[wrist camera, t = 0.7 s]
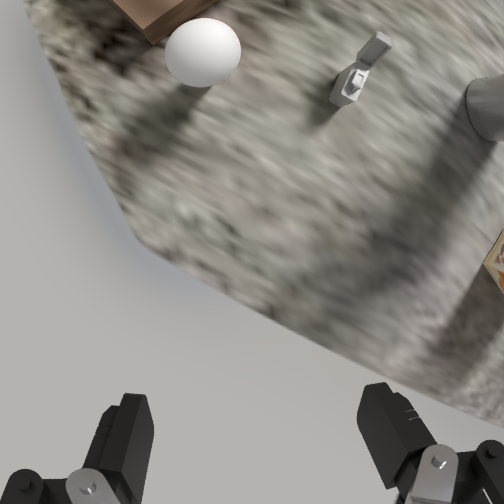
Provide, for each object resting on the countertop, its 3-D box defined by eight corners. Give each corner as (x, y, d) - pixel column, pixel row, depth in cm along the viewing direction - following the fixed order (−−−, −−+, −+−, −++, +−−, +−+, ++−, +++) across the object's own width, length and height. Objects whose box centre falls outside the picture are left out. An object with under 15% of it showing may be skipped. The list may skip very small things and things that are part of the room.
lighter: (340, 108, 31) (372, 96, 24) (327, 100, 31) (355, 86, 23) (362, 59, 30) (395, 38, 22) (349, 51, 29) (380, 28, 22)
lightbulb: (242, 55, 29) (250, 12, 18) (230, 107, 30) (233, 83, 20) (185, 47, 28) (170, 3, 18) (172, 99, 30) (149, 72, 19)
